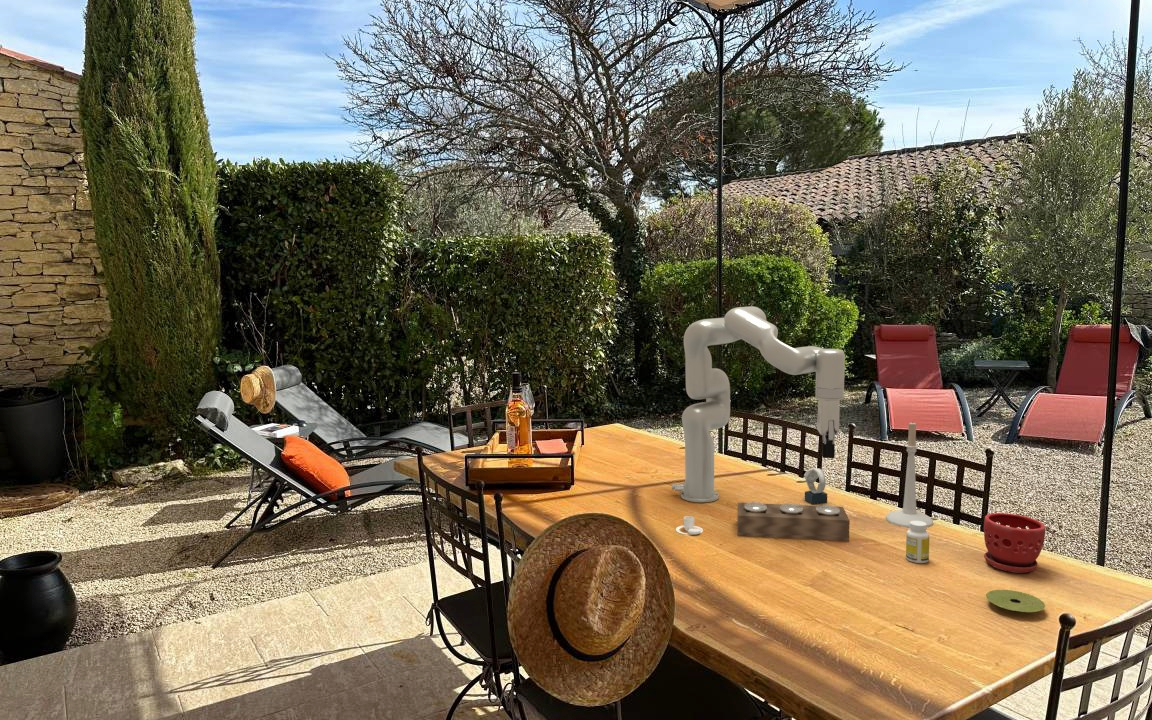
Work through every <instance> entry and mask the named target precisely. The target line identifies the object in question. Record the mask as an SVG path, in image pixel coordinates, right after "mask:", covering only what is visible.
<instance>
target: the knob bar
mask: <svg viewBox="0 0 1152 720" xmlns="http://www.w3.org/2000/svg"><path fill="white" fill-rule="evenodd" d="M746 503H747V502H737V523H736V524H737V536H738V537H748V538H749V537H753V538H773V539H790V540H791V539H793V540H794V539H795V540H814V541H830V542H831V541H835V542H850V525H851V524H850V522H851V521H850V518H849V516H848V514H847V512H846V510H845V508H844V506H834V505H833V506H834V507H837V508H839V509H840V514H839V515H836V516H821V515H820V514H818V513H817V512H816V507H817V506H818V505H811V504H809V505H808V504H807V505H806V504H804V505H803V504H799V505H800V506H802V507H803V512H802V513H801V514H784V513H783V512H781V511H780V506H781V505H783V503H782V504H779V503H764V504H765V505H766V506H767V511H765V512H763V513H751V512H748V511H746V510H745V509H744V505H745V504H746Z"/></svg>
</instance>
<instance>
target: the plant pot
mask: <svg viewBox="0 0 1152 720" xmlns="http://www.w3.org/2000/svg"><path fill="white" fill-rule="evenodd" d="M1026 527H1028V528H1026ZM983 535H984V538H983V539H984V544H985V547H986V550H987V551H986V552H985V553H984V555H983V557H984V559H985V561H986V562H987V563H988V564H989V566H992V567H994V569H997V570H998V569H999V570H1002V571H1004V572H1010V573H1017V574H1020V573H1021V574H1023V573H1031V572H1033V571H1035V570H1037V568H1038V566H1039V564H1038V561H1037V559H1038V557H1039V556H1040V554H1041V552H1042V550H1043V546H1044V542H1045V538H1046V537H1045V535H1046V526H1045V524H1044V523H1042V522H1041V521H1039V520H1037V519H1034V518H1031V517H1028V516H1025V515H1020V514H1019V515H1018V514H1015V513H1014V514H1013V513H1007V512H1006V513H1005V512H994V513H993V512H992V513H989V514H986V515H985V516H984V522H983Z"/></svg>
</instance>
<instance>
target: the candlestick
mask: <svg viewBox="0 0 1152 720" xmlns="http://www.w3.org/2000/svg"><path fill="white" fill-rule="evenodd" d="M907 433H908V435H907V436H908V437H907V439H908V441H907V444H904V445H905V447H906V452H907V453H908V455H907V462H906V473H905V484H904V496H903V504H902V506H903V507H902V509H897V510H893V511H890V512H889V513H887V514H886V515H885V520H886V521H887V522H888V523H889V524H892V525H894V526H897V525H898V527H901V526H902V527H903V528H908V529H911V528H910V522H911V521H922V522H925V523H926V524H927V528H930V527H932V526H933V525H934V520H933V519H932V517H930V516H929V515H927V514H926V513H922V512H920V511H918V510H917V495H916V494H917V492H916V489H917V487H916V458H915V454H916V452H917V448H918V447H919V445H917V444H916V440H917V439H916V438H917V435H916V434H917V423H916V422H913V421H912V422H908V432H907ZM902 527H901V528H902Z"/></svg>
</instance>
